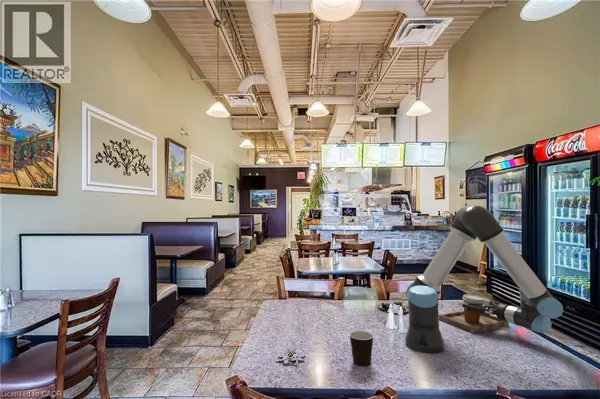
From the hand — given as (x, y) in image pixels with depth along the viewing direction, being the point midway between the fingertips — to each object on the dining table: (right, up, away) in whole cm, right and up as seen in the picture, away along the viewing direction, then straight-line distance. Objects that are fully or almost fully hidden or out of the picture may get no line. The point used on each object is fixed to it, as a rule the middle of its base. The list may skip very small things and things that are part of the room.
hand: (468, 301), depth 159 cm
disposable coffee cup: (-1, -8, -5) cm, 10 cm away
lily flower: (-90, -9, -41) cm, 99 cm away
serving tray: (0, -9, -4) cm, 10 cm away
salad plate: (-32, -12, +19) cm, 39 cm away
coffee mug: (-63, -8, -43) cm, 77 cm away
